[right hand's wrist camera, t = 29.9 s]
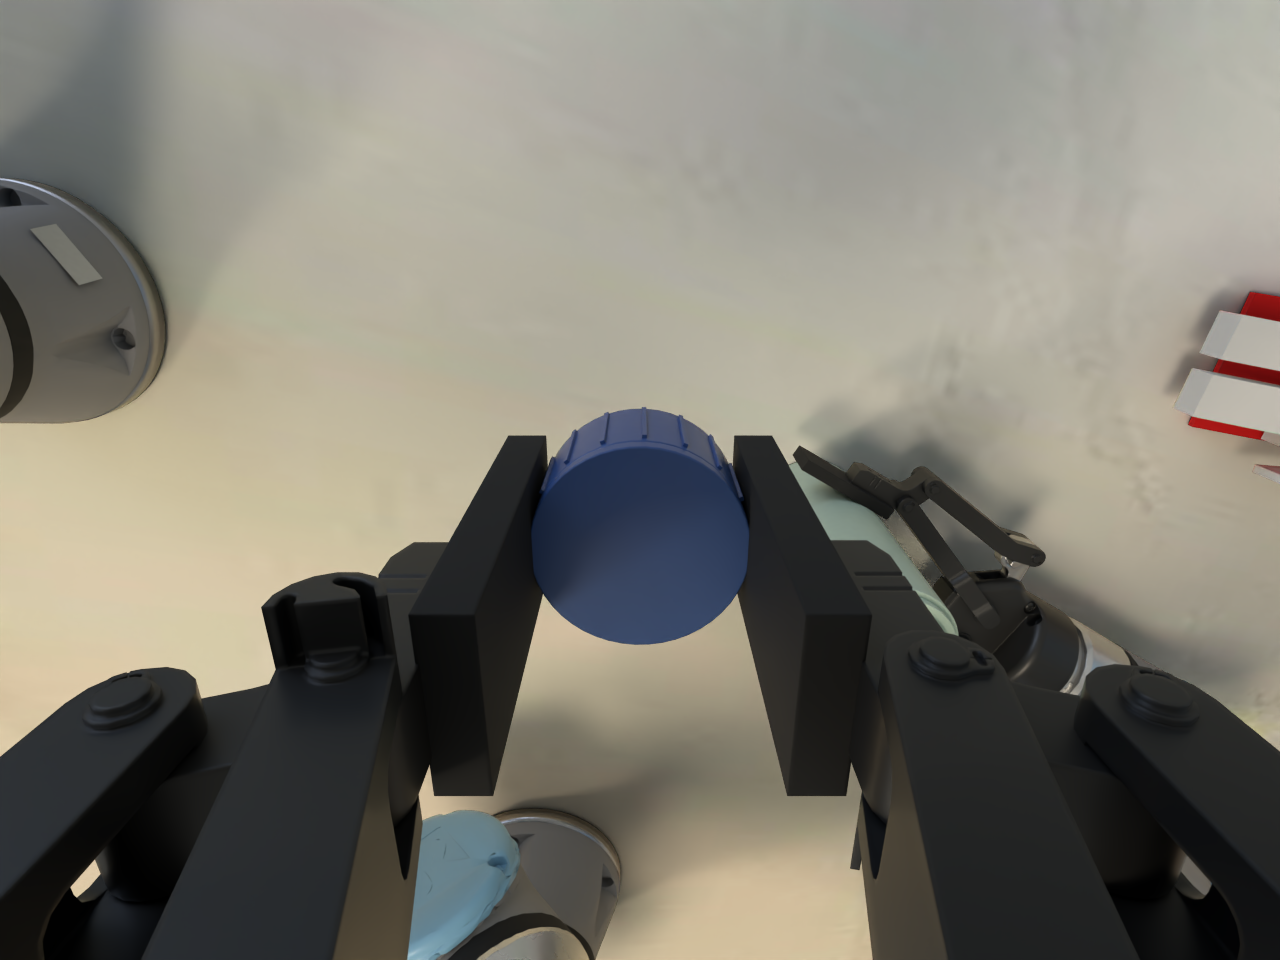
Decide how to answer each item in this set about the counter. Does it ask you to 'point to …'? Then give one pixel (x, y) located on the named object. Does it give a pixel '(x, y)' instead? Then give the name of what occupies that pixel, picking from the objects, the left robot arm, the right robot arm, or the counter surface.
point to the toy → (1240, 377)
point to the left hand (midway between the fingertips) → (765, 506)
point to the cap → (640, 528)
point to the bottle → (868, 537)
